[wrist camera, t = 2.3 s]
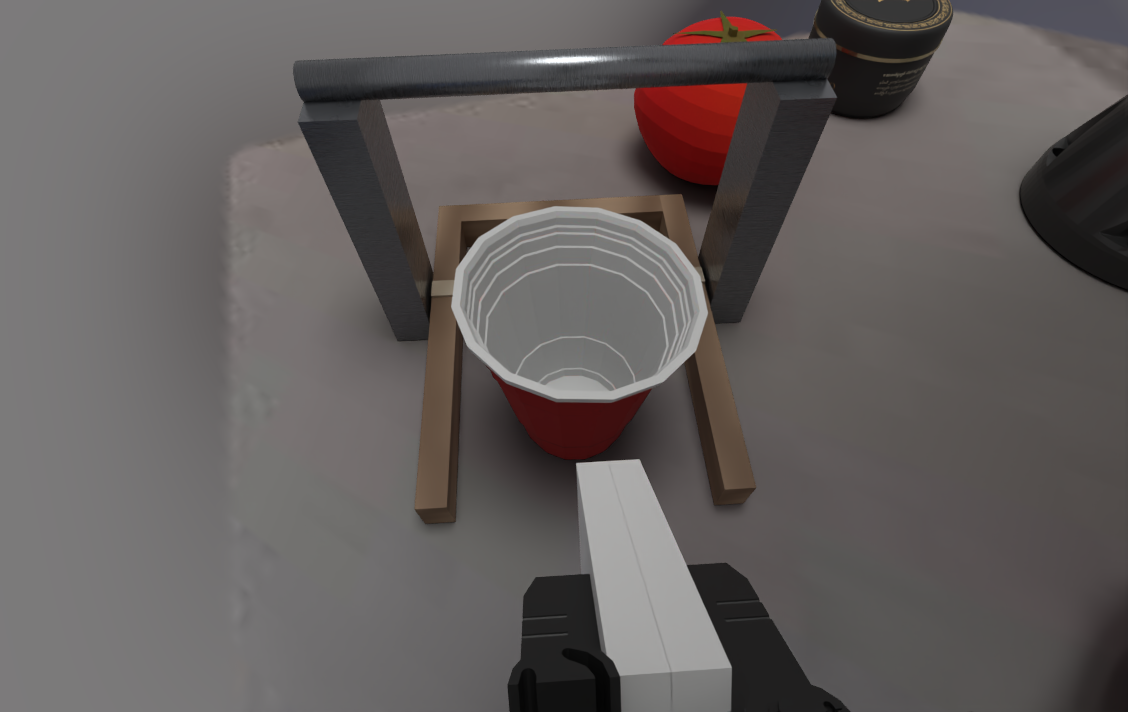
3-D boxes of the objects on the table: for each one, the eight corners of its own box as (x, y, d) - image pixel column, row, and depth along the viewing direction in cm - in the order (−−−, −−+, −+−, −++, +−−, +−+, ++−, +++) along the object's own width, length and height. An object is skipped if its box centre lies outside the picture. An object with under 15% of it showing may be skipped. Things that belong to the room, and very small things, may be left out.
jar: (771, 72, 53) (799, -18, 46) (859, 49, 55) (898, -40, 48) (837, 135, 48) (879, 44, 41) (932, 107, 50) (986, 16, 43)
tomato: (700, 101, 50) (728, -31, 41) (809, 173, 45) (868, 39, 36) (602, 151, 47) (610, 19, 38) (709, 236, 41) (747, 105, 32)
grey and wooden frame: (710, 218, 42) (784, -44, 28) (790, 500, 31) (990, 305, 16) (410, 233, 42) (324, -26, 27) (376, 526, 30) (195, 349, 16)
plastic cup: (707, 434, 33) (768, 310, 23) (553, 543, 30) (544, 453, 20) (596, 312, 38) (605, 164, 28) (453, 393, 34) (405, 260, 24)
